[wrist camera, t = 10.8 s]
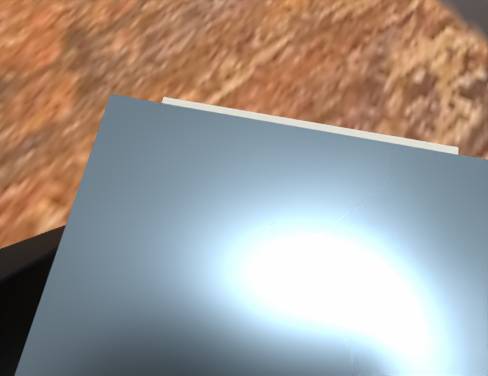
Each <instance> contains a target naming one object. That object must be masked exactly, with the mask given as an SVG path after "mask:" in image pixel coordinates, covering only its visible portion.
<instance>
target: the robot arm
mask: <svg viewBox="0 0 488 376" xmlns="http://www.w3.org/2000/svg"><path fill="white" fill-rule="evenodd" d="M65 226H66V225H64V226H62V227H59V228H56V229H53V230H51V231H48V232H45V233H42V234H40V235H37V236H34V237H32V238H29V239H26V240H23V241H21V242H18V243H15V244H13V245H10V246H7V247H4V248H2V249H0V376H15V373H16V370H17V367H18V364H19V361H20V358H21V355H22V352H23V349H24V346H25V343H26V341H27V338H28V335H29V332H30V329H31V326H32V323H33V320H34V317H35V314H36V311H37V308H38V305H39V303H40V300H41V297H42V294H43V291H44V288H45V285H46V282H47V279H48V276H49V273H50V270H51V267H52V265H53V262H54V259H55V256H56V253H57V250H58V247H59V244H60V241H61V238H62V235H63V232H64V229H65Z"/></svg>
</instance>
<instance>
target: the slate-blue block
mask: <svg viewBox="0 0 488 376" xmlns="http://www.w3.org/2000/svg"><path fill="white" fill-rule="evenodd" d="M15 376H488V160H486V159H481V158H475V157H469V156H463V155H458V154H452V153H446V152H440V151H435V150H429V149H423V148H417V147H412V146H406V145H400V144H394V143H389V142H383V141H377V140H371V139H366V138H360V137H354V136H348V135H343V134H337V133H331V132H325V131H320V130H314V129H308V128H302V127H297V126H291V125H285V124H279V123H274V122H268V121H262V120H257V119H251V118H245V117H239V116H234V115H228V114H222V113H216V112H211V111H205V110H199V109H193V108H188V107H182V106H176V105H170V104H165V103H159V102H153V101H147V100H142V99H136V98H130V97H124V96H119V95H113V94H111V95H110V98H109V101H108V104H107V107H106V110H105V112H104V115H103V118H102V121H101V124H100V127H99V130H98V133H97V136H96V139H95V142H94V145H93V148H92V150H91V153H90V156H89V159H88V162H87V165H86V168H85V171H84V174H83V177H82V180H81V183H80V186H79V188H78V191H77V194H76V197H75V200H74V203H73V206H72V209H71V212H70V215H69V218H68V221H67V224H66V226H65V229H64V232H63V235H62V238H61V241H60V244H59V247H58V250H57V253H56V256H55V259H54V262H53V265H52V267H51V270H50V273H49V276H48V279H47V282H46V285H45V288H44V291H43V294H42V297H41V300H40V303H39V305H38V308H37V311H36V314H35V317H34V320H33V323H32V326H31V329H30V332H29V335H28V338H27V341H26V343H25V346H24V349H23V352H22V355H21V358H20V361H19V364H18V367H17V370H16V373H15Z"/></svg>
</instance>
